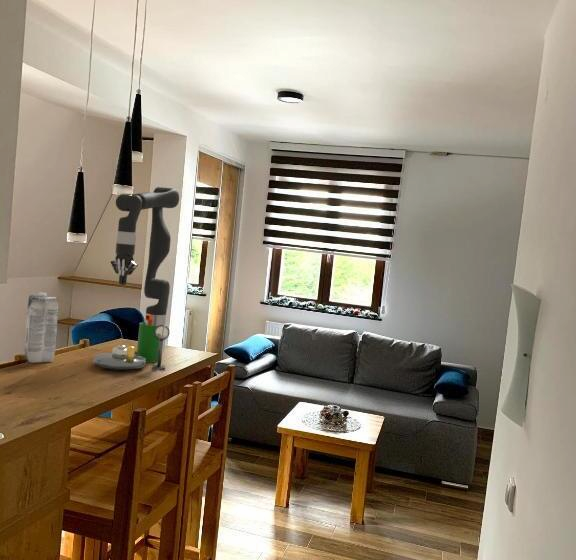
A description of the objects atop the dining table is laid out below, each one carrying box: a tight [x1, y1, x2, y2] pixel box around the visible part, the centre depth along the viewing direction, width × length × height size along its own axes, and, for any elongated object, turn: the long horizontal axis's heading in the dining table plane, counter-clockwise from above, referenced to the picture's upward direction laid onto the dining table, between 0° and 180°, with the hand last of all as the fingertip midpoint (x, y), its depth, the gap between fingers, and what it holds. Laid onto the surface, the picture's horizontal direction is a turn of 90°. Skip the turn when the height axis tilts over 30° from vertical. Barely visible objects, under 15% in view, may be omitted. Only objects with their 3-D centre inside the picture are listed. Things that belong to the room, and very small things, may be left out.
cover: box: [111, 344, 127, 359], centre depth 250 cm, size 7×7×5 cm
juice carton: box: [24, 292, 59, 364], centre depth 246 cm, size 9×10×27 cm
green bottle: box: [136, 314, 159, 363], centre depth 267 cm, size 10×9×20 cm
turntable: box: [93, 345, 147, 370], centre depth 249 cm, size 20×20×8 cm
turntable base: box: [107, 368, 129, 371], centre depth 249 cm, size 10×10×1 cm
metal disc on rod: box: [151, 324, 171, 371], centre depth 254 cm, size 5×6×18 cm
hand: (122, 284), depth 258 cm, fingers closed
